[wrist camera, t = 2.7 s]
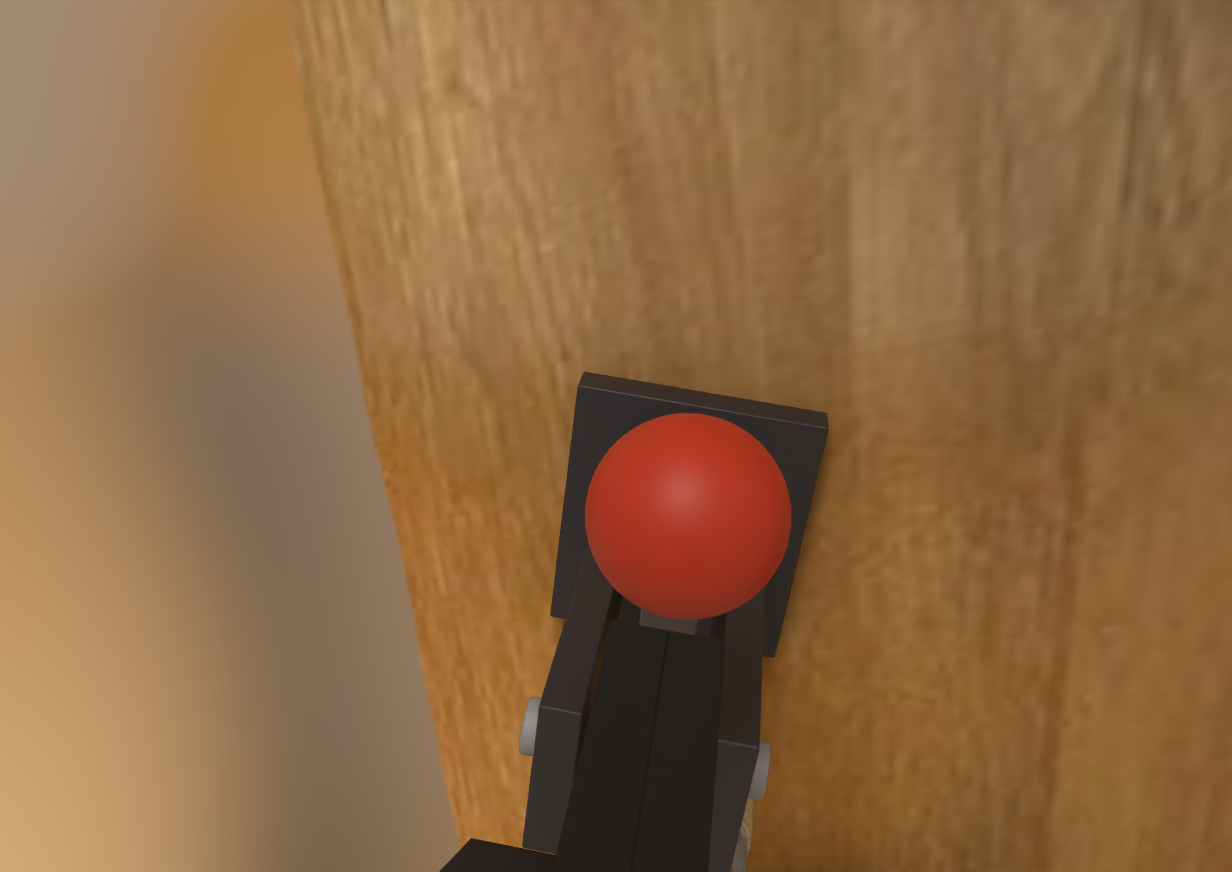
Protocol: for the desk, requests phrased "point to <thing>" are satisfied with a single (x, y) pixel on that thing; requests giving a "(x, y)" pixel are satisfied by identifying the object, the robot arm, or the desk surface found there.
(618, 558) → the red ball lever
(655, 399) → the switch bracket
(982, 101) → the desk surface
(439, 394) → the desk surface
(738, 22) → the desk surface
